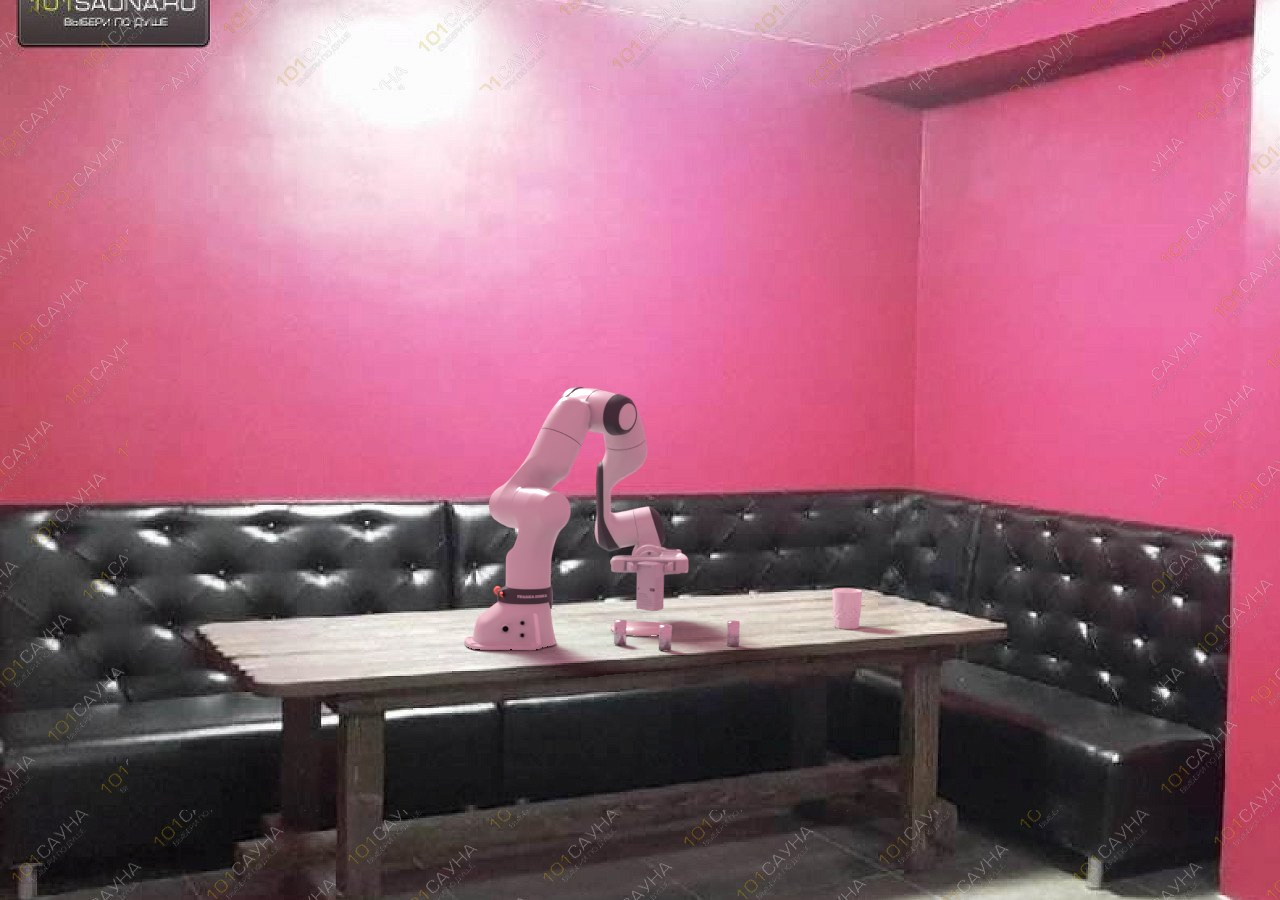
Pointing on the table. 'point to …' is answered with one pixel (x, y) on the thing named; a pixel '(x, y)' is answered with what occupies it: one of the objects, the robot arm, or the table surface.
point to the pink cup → (846, 607)
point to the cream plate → (641, 628)
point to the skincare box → (650, 585)
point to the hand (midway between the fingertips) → (650, 568)
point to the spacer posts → (666, 634)
